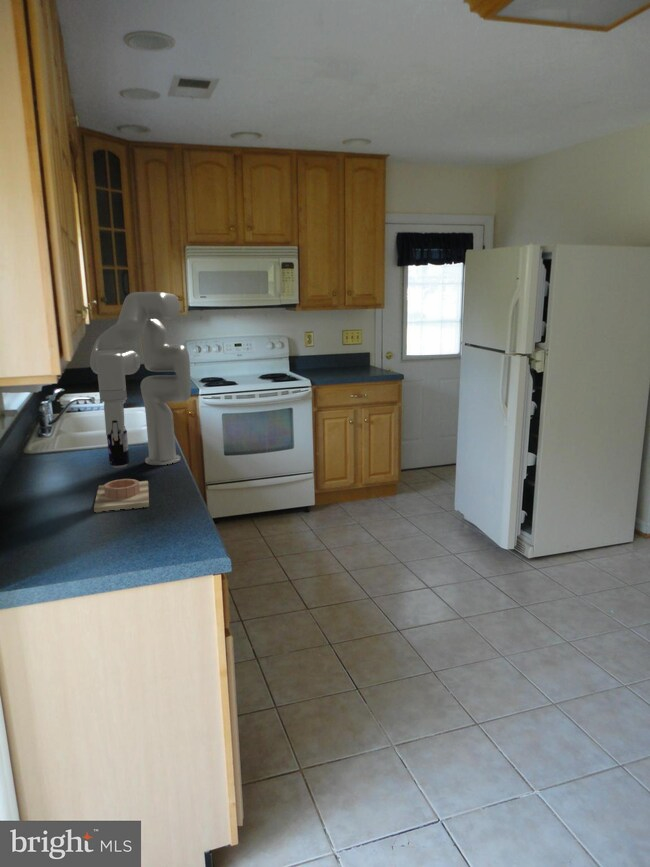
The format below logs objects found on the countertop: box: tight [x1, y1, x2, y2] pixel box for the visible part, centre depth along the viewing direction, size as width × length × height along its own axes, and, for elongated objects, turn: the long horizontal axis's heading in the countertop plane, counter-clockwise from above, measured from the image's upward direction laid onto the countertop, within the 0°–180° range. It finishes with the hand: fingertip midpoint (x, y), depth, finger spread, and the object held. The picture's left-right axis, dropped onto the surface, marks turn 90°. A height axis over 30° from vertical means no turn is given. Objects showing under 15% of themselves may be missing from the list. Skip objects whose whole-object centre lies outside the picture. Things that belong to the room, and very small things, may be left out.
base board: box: [93, 480, 150, 513], centre depth 191 cm, size 22×15×2 cm
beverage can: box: [106, 425, 131, 469], centre depth 188 cm, size 6×6×12 cm
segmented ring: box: [103, 478, 140, 499], centre depth 191 cm, size 10×10×3 cm
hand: (118, 454), depth 188 cm, fingers closed on beverage can, 5 cm apart
